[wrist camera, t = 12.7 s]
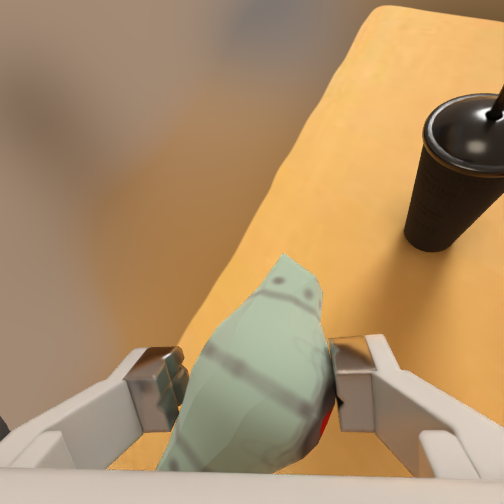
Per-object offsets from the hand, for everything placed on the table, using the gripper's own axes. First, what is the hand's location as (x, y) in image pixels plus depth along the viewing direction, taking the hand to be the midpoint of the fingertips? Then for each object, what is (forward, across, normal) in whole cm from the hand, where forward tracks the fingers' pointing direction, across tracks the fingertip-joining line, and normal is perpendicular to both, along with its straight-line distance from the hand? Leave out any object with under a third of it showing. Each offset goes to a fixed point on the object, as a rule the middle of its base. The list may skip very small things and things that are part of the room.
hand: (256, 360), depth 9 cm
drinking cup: (+26, +15, -4) cm, 30 cm away
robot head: (+3, 0, -4) cm, 5 cm away
